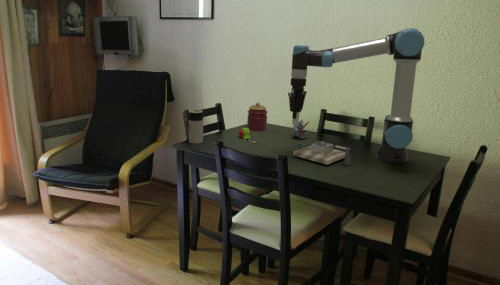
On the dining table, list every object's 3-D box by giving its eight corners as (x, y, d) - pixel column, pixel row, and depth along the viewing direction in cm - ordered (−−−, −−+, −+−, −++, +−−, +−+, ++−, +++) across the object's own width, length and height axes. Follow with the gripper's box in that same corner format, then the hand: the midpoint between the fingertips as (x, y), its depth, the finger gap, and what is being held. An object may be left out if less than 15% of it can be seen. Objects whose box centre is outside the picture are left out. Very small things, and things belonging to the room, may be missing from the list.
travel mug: (204, 141, 224) (204, 110, 219) (201, 144, 216) (201, 112, 211) (190, 140, 224) (190, 109, 220) (187, 143, 217) (186, 111, 212)
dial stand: (349, 165, 190) (351, 148, 188) (347, 166, 189) (349, 149, 187) (335, 161, 195) (336, 145, 193) (333, 162, 194) (334, 145, 192)
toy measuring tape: (245, 135, 240) (246, 125, 238) (259, 143, 223) (259, 132, 221) (235, 136, 237) (236, 125, 235) (248, 144, 220) (249, 133, 218)
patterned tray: (347, 156, 200) (348, 148, 199) (327, 164, 186) (328, 156, 185) (308, 146, 216) (309, 139, 215) (286, 153, 201) (287, 146, 200)
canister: (257, 126, 266) (258, 100, 261) (270, 130, 256) (272, 103, 251) (242, 128, 257) (243, 101, 253) (255, 132, 248) (256, 104, 243)
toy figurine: (307, 141, 232) (308, 121, 229) (288, 139, 234) (290, 119, 231) (308, 136, 243) (310, 117, 239) (290, 135, 245) (292, 116, 241)
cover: (332, 152, 200) (333, 142, 198) (324, 155, 194) (325, 145, 192) (319, 148, 205) (320, 139, 203) (310, 151, 199) (311, 141, 198)
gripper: (300, 76, 199) (296, 121, 205) (284, 77, 190) (281, 125, 196) (312, 77, 194) (308, 124, 201) (297, 79, 185) (293, 127, 191)
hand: (295, 124), depth 198 cm, fingers closed
